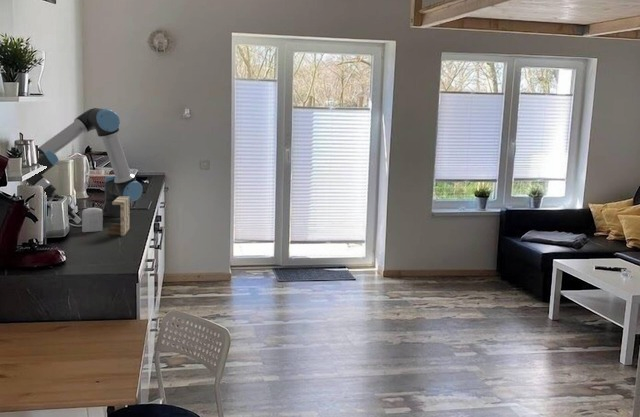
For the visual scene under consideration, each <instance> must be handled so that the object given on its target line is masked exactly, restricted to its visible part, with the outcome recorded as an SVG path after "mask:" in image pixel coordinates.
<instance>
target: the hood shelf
mask: <svg viewBox="0 0 640 417" xmlns="http://www.w3.org/2000/svg"><path fill="white" fill-rule="evenodd" d="M130 202H131V201H130V197H121V196H119V197H118V198H116V199H115V200H114V201H113V202H112V205H120V206H121V217H120V223H111V228H110V227H107V235H112V236H113V235H116V236H117V235H118V236H119V235H120V237H124V236H125V235H126V234H127V233H128V231H130V228H131V225H130V217H131V216H130V214H131V213H130V211H131V210H130Z"/></svg>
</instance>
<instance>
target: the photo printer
mask: <svg viewBox="0 0 640 417" xmlns="http://www.w3.org/2000/svg"><path fill="white" fill-rule="evenodd" d="M102 209H103V208H100V207H99V208H98V207H88V208H85V209H82V211H81V220H82V221H81V231H82V233H93V232H102V231H103V229H104V228H103V223H104V222H103V221H104V218H103V217H104V216H103V213H102Z"/></svg>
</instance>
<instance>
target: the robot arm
mask: <svg viewBox="0 0 640 417" xmlns="http://www.w3.org/2000/svg"><path fill="white" fill-rule="evenodd" d="M120 124H121V119H120V117H119V114H118V113H116V111H115V110H112V109H109V108H98V107H92V108H90V109H88V110H86V111H83V113H81V114H80V115H78V116H77V117H76V118H74V119H73V122H72V123H70V124H69V125H68V126H66V127H64V128H63V129H62V130H61V131H60V132H58V133H57V134H55V135H53V137H51V138H50V139H48V140H46V141H45V142H44V143H43V144H41V145H40V146H39V147H37V148H38V151H39V158H38V163H39V164H40V165H43V166H47V168H46V169H44V170H43V171H41V172H39V173H38V174H35V175H34V176H32V177H31V178H29V179H27V180H26V181H25V182H26V183H27V184H28V185H29V184H31V185H40V186H42V187H43V189H44V191H45V192H46V195H47V197H62V195H59V194H58V193H56V190H57V188H56V187H55V186H54V185H53V184H51V182H50V181H49V180H48V179H46V177H45V176H43V175H44V174H45V173H46V172H48V171H49V170H51V169H52V168H53V167H54V166H56V165H57V163H58V162H59V158H58V155H56V154H57V153H58V152H59V151H61V150H62V149H64V148H65V147H66V146H68V145H69V144H71V143H72V142H73V141H75V140H76V139H78V138H79V137H80V136H82V135H83V134H87V133H89V132H90V131H91V132H92V131H93V130H94V131H96V133H97V137H98V138H101V140H102V143H103V146H104V148H105V150H106V154H107V156H108V160H109V162H110V165H111V167H112V171H113V173H114V175H112V176H111V175H110V176H106V177H105V178H104V204H103V207H102V208H101V209H102V213H103V217H110V218H121V206H120V205H112V202H113V201H114V200H115V199H116V198H118V197H119V196H121V197H130V202H135V201H138V199H140V198H141V195H142V194H143V185H142V184H141V183H140V182H139V181H137V178H136V176H135V174H134V173H132V172H131V168H130V167H129V163H128V160H127V158H126V154H125V152H124V149H123V145H122V143H121V140H120V137H119V132H120V129H119V127H120ZM31 185H30V186H31ZM62 198H63V197H62ZM67 216H69V218H70V219H72V220H73V221H74V223H75V224H77V225H79V224H80V222H82V218H80V216H78V214H76V213H75V211H74V208H72V207H71V205H70V204H69V203H68V215H67Z"/></svg>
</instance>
